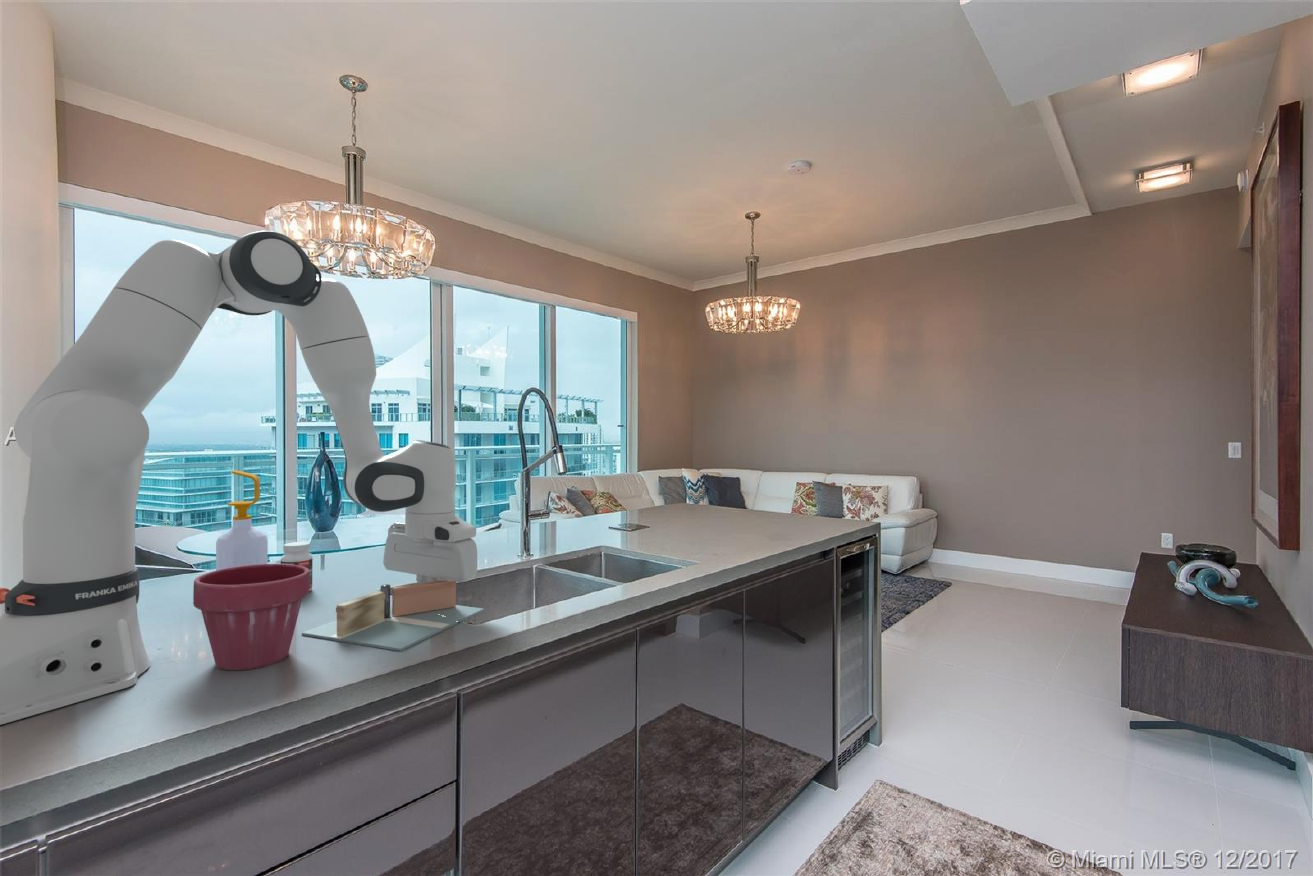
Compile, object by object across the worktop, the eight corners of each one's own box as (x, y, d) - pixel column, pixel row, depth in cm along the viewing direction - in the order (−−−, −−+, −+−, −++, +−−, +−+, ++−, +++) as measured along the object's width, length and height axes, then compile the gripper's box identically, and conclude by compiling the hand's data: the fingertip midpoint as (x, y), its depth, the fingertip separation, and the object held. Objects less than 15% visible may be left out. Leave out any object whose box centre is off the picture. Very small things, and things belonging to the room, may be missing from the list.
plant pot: (312, 637, 100) (313, 559, 100) (304, 668, 87) (304, 579, 87) (206, 649, 94) (206, 566, 94) (180, 685, 81) (180, 589, 81)
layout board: (400, 651, 94) (400, 648, 94) (301, 635, 101) (301, 632, 101) (483, 610, 115) (483, 608, 115) (397, 599, 122) (397, 597, 122)
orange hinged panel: (394, 616, 109) (394, 589, 109) (391, 614, 110) (392, 586, 110) (456, 607, 115) (456, 580, 115) (453, 604, 117) (453, 578, 117)
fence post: (385, 619, 108) (385, 587, 108) (378, 618, 108) (378, 586, 108) (392, 617, 109) (392, 585, 109) (384, 616, 110) (385, 584, 110)
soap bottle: (221, 582, 132) (221, 469, 131) (270, 579, 135) (270, 468, 135) (211, 593, 123) (211, 472, 123) (264, 589, 127) (264, 471, 127)
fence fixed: (344, 636, 99) (344, 606, 99) (335, 635, 100) (335, 605, 100) (385, 620, 108) (385, 592, 108) (376, 619, 108) (377, 591, 108)
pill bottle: (301, 595, 123) (301, 546, 123) (274, 595, 123) (274, 546, 123) (318, 588, 129) (318, 541, 129) (291, 587, 129) (291, 540, 129)
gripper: (376, 523, 117) (374, 595, 117) (460, 533, 109) (458, 610, 109) (401, 519, 123) (399, 587, 123) (483, 529, 115) (481, 602, 115)
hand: (428, 598), depth 116 cm, fingers closed
